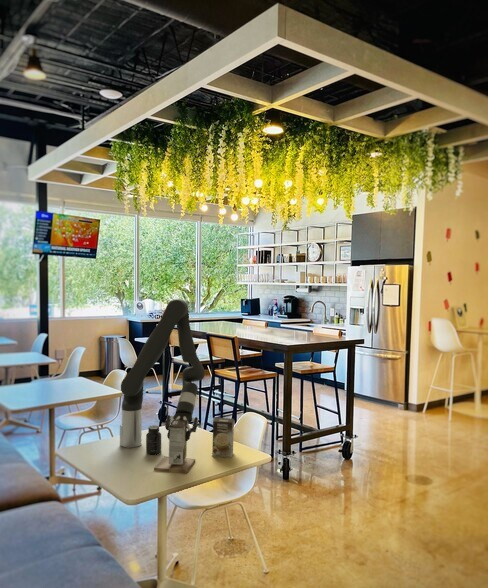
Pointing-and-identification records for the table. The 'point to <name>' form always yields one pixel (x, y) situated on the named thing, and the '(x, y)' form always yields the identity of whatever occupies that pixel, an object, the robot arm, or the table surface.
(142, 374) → the robot arm
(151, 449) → the supplement bottle
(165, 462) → the brown tray
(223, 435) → the coffee box
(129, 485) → the table surface
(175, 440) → the coffee box
